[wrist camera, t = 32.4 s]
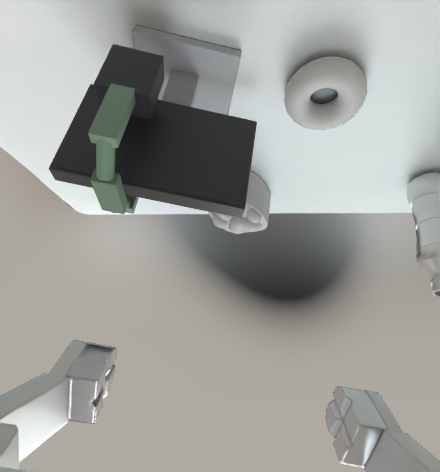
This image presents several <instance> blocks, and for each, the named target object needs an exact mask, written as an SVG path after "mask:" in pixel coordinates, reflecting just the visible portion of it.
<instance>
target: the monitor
mask: <svg viewBox="0 0 440 472" xmlns="http://www.w3.org/2000/svg"><path fill="white" fill-rule="evenodd" d="M132 32H133V41H134V49H136V50H140V51H145V52H149V53H153V54H158V55H162V56H164V82H163V85H162V88H161V91H160V94H159V96H158V99H157V102H156V105H155V108H154V111H153V114H152V117H151V118H150V119H145V118H140V117H136V116H130V118H129V121H128V123H127V126H126V129H125V131H124V134H123V136H122V139H121V142H120V144H119V147H118V148H115V173H119V174H120V176H121V180H122V184H123V188H124V192H125V194H126V195H131V196H136V197H141V198H146V199H150V200H155V201H160V202H165V203H170V204H175V205H180V206H184V207H189V208H194V209H199V210H204V211H209V212H214V213H219V214H223V215H228V216H233V217H238V218H241V217H242V215H243V213H244V211H245V206H246V199H247V191H248V184H249V176H250V169H251V161H252V154H253V146H254V139H255V131H256V124H257V122H255V121H251V120H247V119H242V118H238V117H233V116H229V115H228V112H229V107H230V102H231V98H232V93H233V89H234V84H235V79H236V75H237V70H238V65H239V61H240V56H241V51H240V50H236V49H232V48H228V47H223V46H219V45H215V44H211V43H207V42H203V41H199V40H194V39H190V38H186V37H182V36H178V35H174V34H170V33H166V32H161V31H157V30H153V29H149V28H145V27H141V26H137V25H135V26H134V28H133V31H132ZM99 108H100V105H99V101H98V98H97V94H96V90H95V86H94V85H93V84H90V86H89V88H88V90H87V92H86V94H85V97H84V99H83V101H82V103H81V105H80V107H79V109H78V111H77V113H76V115H75V117H74V119H73V121H72V123H71V125H70V127H69V129H68V131H67V133H66V135H65V137H64V139H63V141H62V143H61V145H60V147H59V149H58V151H57V153H56V155H55V157H54V159H53V161H52V163H51V165H50V167H49V170H50V171H51V173H52V175H53V177H54V178H55V180H58V181H63V182H68V183H73V184H77V185H82V186H87V187H92V188H93V186H92V184H91V181H90V179H91V177H92V174H93V172H94V169H96V144H95V143H91V140H90V138H89V135H88V132H89V130H90V128H91V126H92V123H93V121H94V119H95V117H96V115H97V112H98V110H99Z"/></svg>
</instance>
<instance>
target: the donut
mask: <svg viewBox="0 0 440 472" xmlns="http://www.w3.org/2000/svg"><path fill="white" fill-rule="evenodd" d="M323 88H331V89H334V90H336V91H337V93H338V96H337V97H336V98H335V99H334V100H333V101H331V102H329V103H326V104H317V103H314V102H313V101H312V100H311V95H312V94H313V93H314V92H315V91H317V90H319V89H323ZM366 94H367V81H366V78H365V76H364V74H363V72H362V70H361V68H360V67H358V66H357V65H356V64H355V63H353V62H352V61H351V60H348V59H345V58H342V57H322V58H319V59H315V60H312V61H310V62H309V63H307V64H306V65H304V66H302V67H301V68H300V69H299V70H298V71H297V72H296V73H295V74H294V75H293V76H292V77H291V79H290V81H289V83H288V85H287V87H286V90H285V98H284V103H285V107H286V110H287V113H288V114H289V115H290V117H291V118H292V119H293V121H294V122H296V123H297V124H299V125H300V126H302V127H305V128H309V129H313V130H324V129H330V128H334V127H337V126H339V125H341V124H344V123H345V122H347V121H348V120H349V119H351V118H352V117H353V116H354V115H355V114H356V113H357V112H358V110H359V109H360V108H361V106H362V105H363V102H364V100H365V97H366Z"/></svg>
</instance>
